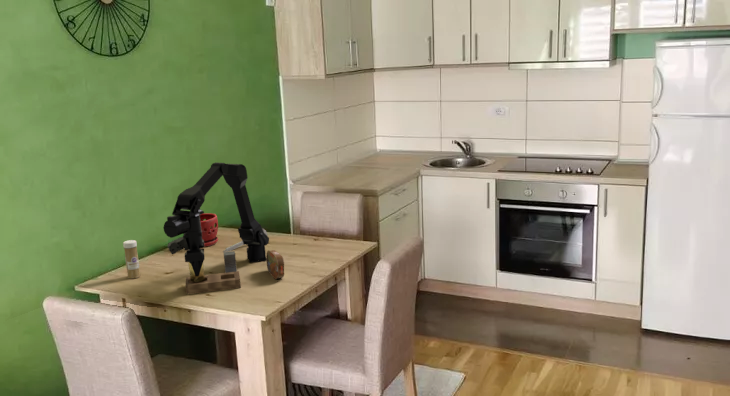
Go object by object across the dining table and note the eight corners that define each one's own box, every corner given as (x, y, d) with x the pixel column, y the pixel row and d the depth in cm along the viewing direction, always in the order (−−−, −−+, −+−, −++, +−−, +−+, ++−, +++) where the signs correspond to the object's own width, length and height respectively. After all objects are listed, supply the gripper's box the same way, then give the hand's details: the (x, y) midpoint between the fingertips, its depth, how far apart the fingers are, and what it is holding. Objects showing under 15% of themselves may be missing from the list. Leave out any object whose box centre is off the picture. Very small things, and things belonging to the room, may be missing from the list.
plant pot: (190, 241, 292) (187, 214, 289) (221, 239, 292) (219, 212, 290) (185, 250, 279) (182, 221, 276) (217, 247, 280) (214, 219, 277)
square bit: (236, 269, 251) (234, 251, 249) (236, 272, 247) (235, 254, 246) (225, 270, 250) (223, 252, 249) (225, 273, 246) (223, 255, 245)
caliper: (266, 241, 286) (265, 227, 285) (268, 242, 285) (266, 227, 284) (223, 252, 274) (221, 237, 272) (224, 253, 273) (222, 237, 272)
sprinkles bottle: (133, 279, 245) (128, 243, 242) (124, 277, 247) (120, 242, 244) (143, 275, 248) (139, 240, 245) (135, 274, 251) (130, 239, 248)
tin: (266, 270, 249) (264, 247, 247) (274, 268, 250) (273, 246, 248) (277, 282, 235) (276, 258, 233) (286, 280, 236) (284, 257, 234)
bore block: (239, 279, 240) (238, 271, 239) (240, 287, 231) (240, 279, 230) (186, 285, 236) (186, 277, 235) (186, 294, 227) (185, 285, 226)
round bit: (204, 276, 234) (202, 257, 233) (204, 280, 230) (202, 261, 228) (190, 278, 233) (188, 258, 232) (190, 282, 229) (188, 262, 227)
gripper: (168, 225, 235) (173, 268, 238) (166, 239, 217) (171, 285, 221) (201, 222, 237) (206, 264, 241) (202, 235, 220) (206, 281, 223)
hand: (197, 273), depth 231 cm, fingers closed on round bit, 5 cm apart
